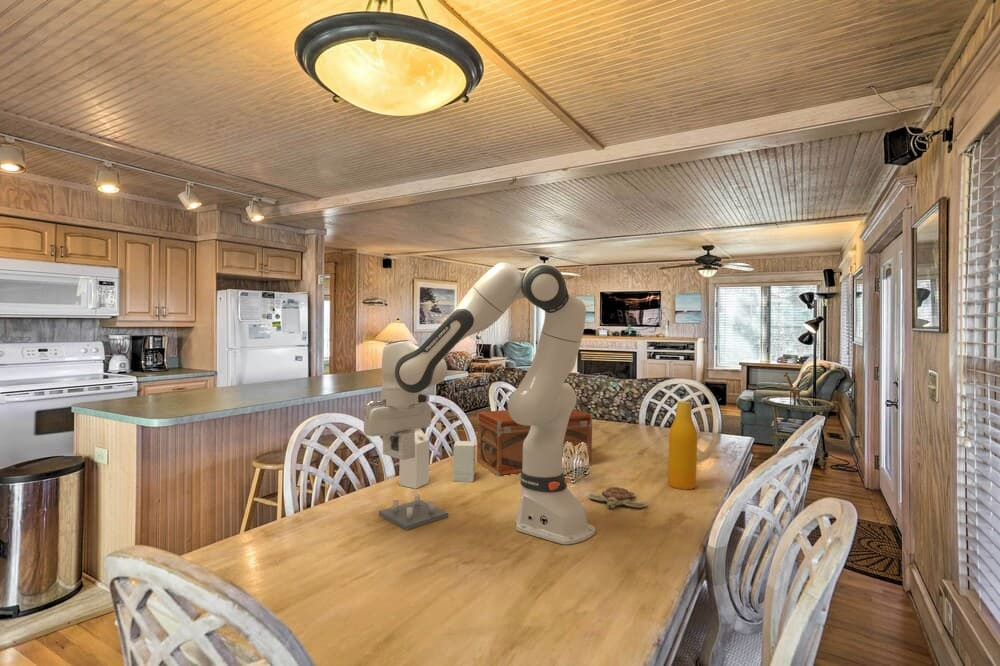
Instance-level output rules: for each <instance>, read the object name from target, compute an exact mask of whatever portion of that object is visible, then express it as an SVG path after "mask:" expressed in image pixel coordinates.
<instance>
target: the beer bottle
mask: <svg viewBox="0 0 1000 666" xmlns="http://www.w3.org/2000/svg"><path fill="white" fill-rule="evenodd" d="M691 405H692V404H691V402H690V401H682V400H681V401H677V404H676V411H675V412H676V413H675V416H674V417H675V419H674V420H673V423H672V424H671V426H670V428H669V433H668V434H669V435H668V464H667V465H668V467H667V470H668V471H667V485H668V486H669V487H672V488H673V487H674V488H673V489H677V488H678V490H683V489H690V490H694V489H695V488H696V485H697V456H698V454H697V453H698V434H697V433H698V432H697V430H696V427H695V424H694V422H693V418H692V406H691ZM693 488H694V489H693Z"/></svg>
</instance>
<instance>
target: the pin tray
mask: <svg viewBox="0 0 1000 666" xmlns="http://www.w3.org/2000/svg"><path fill="white" fill-rule="evenodd" d="M378 516H380V517H381V518H383V519H385V520H387V521H389V522H391V523H393V525H394V524H395V525H396V526H398V527H400V528H401V529H404V530H405V531H408V530H412V529H415V528H417V527H418V528H419V527H421V526H424V525H427V524H432V523H434V522H437V521H441V520H443V519H446V518H448V517H449V512H448V511H447V510H443V509H441V508H439V507H437V506H435V500H429V501H428V502H426V501H424V500H421V494H419V493H416V494H415V495H414V501H413V500H412V501H410V502H406V503H402V504H399V500H397V499H394V500H392V507H389V508H385V509H381V510H378Z"/></svg>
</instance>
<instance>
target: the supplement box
mask: <svg viewBox="0 0 1000 666" xmlns="http://www.w3.org/2000/svg"><path fill="white" fill-rule="evenodd" d="M452 455H453V459H452V461H453V462H452V463H453V464H452V468H453V469H452V481H453V482H464V483H465V482H466V483H467V482H468V483H472V482H474V479H475V474H476V473H475V471H476V468H475V467H476V440H474V441H473V440H456V441H455V442H454V444H453V454H452Z"/></svg>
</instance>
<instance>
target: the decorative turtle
mask: <svg viewBox="0 0 1000 666" xmlns="http://www.w3.org/2000/svg"><path fill="white" fill-rule="evenodd" d="M635 496H636V493H635V492H633V491H629V490H628V489H626V488H624V487H620V486H619V487H618V486H611V487H609V488H607V489H606V490H604V491H602V492H601V494H596V493H595V492H592V491H590V492H589V493H588V495H587V497H588V498H589V499H591V500H596V501H600V502H602V501H604V502H606V506H607V508H608V509H614V508H615V507H616V506H627V507H633V508H644V507H645V506H646V505H647V502H646V501H633V500H631V498H633V497H635Z"/></svg>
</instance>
